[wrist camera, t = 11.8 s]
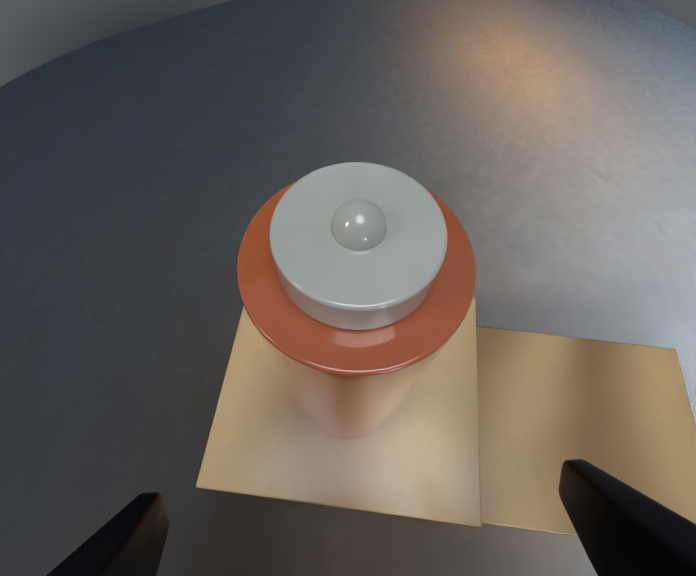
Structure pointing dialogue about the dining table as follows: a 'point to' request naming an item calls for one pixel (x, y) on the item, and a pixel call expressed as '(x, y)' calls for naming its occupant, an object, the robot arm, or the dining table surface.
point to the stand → (467, 431)
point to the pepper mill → (355, 290)
